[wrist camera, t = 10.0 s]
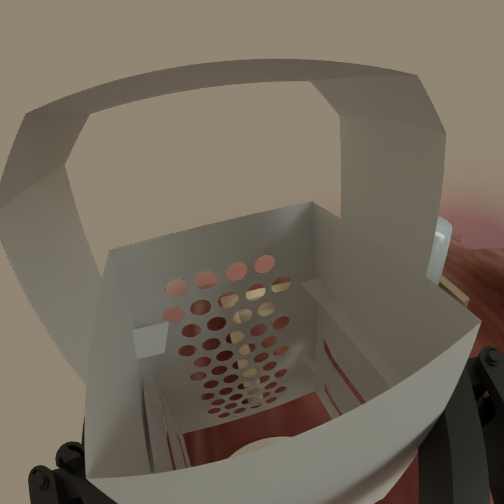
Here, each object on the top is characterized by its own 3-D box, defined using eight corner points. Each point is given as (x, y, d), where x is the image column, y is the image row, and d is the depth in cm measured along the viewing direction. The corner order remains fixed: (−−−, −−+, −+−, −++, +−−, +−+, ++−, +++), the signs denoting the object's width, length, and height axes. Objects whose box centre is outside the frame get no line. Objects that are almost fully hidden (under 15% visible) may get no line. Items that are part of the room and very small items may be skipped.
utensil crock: (409, 288, 38) (429, 151, 28) (438, 315, 32) (472, 166, 22) (373, 301, 37) (389, 152, 27) (401, 333, 31) (434, 168, 21)
